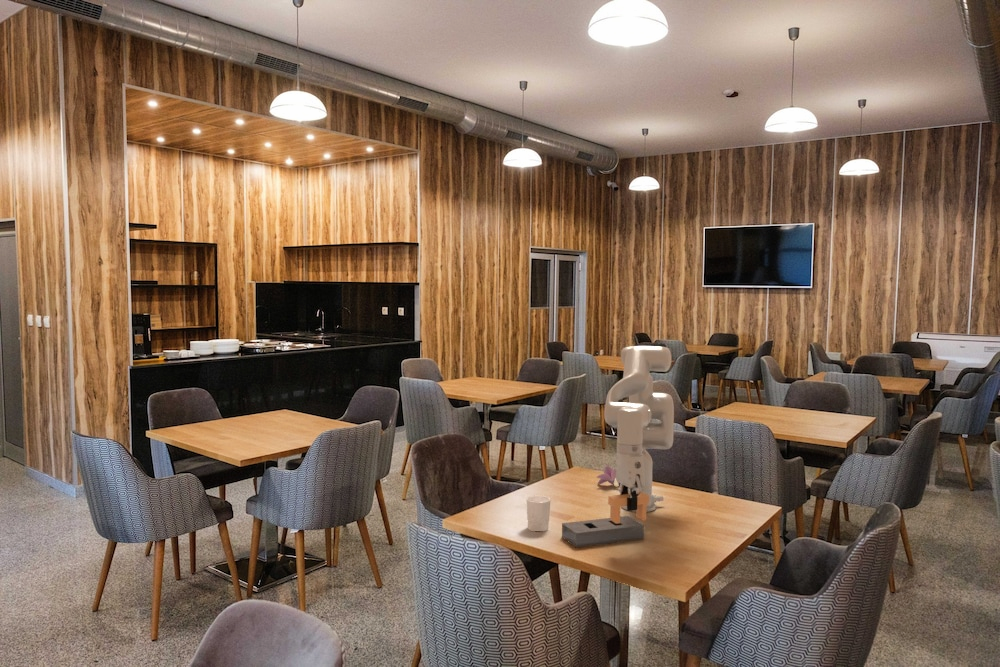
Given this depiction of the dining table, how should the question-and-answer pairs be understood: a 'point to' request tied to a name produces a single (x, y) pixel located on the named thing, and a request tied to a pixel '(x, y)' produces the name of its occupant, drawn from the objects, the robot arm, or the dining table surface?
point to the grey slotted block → (602, 531)
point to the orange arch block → (621, 501)
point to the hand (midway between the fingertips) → (628, 507)
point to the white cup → (538, 513)
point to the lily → (607, 475)
